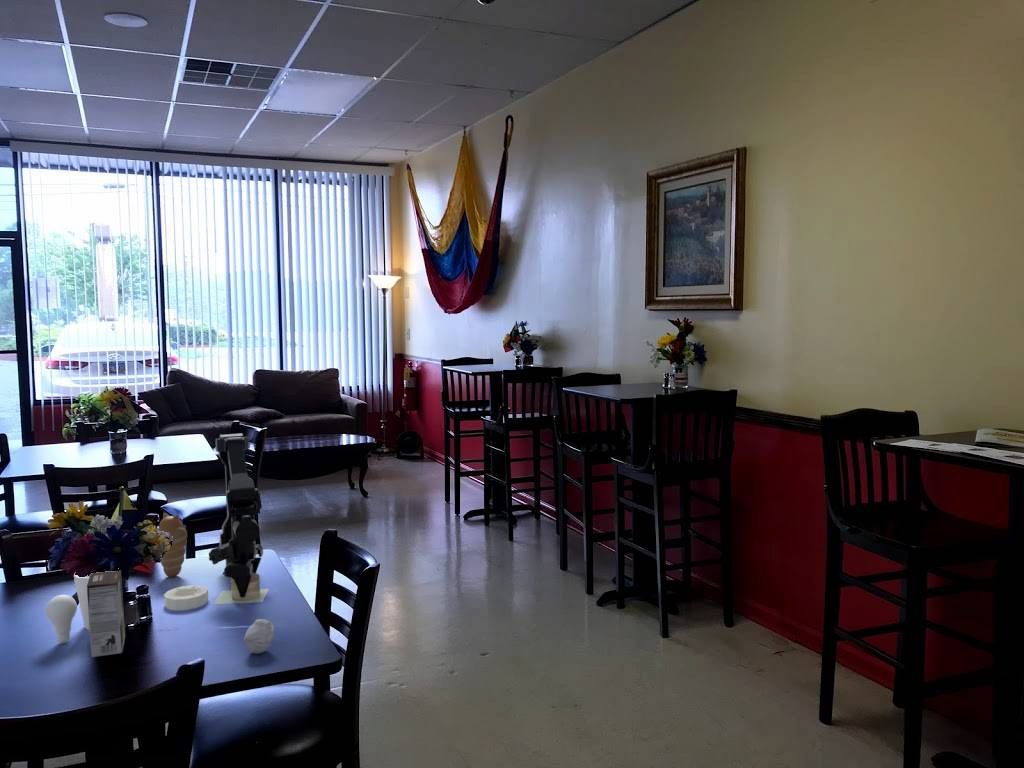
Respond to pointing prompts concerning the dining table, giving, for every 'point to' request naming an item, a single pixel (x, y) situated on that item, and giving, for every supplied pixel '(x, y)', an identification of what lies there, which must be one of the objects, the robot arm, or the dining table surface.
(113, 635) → the coffee box
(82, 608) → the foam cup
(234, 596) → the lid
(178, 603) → the bowl
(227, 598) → the mat
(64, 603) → the lightbulb
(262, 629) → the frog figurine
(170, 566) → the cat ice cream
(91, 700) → the dining table surface
